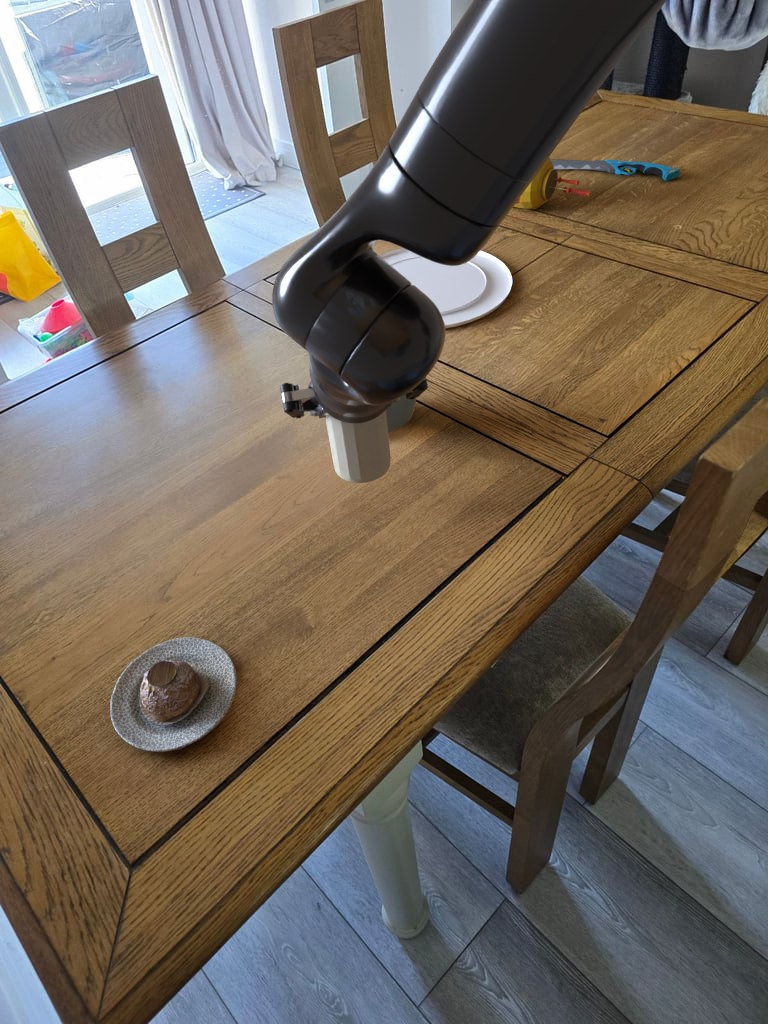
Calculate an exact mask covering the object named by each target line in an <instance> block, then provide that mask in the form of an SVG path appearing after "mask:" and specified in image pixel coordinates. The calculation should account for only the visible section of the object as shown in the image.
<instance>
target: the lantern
mask: <svg viewBox="0 0 768 1024" xmlns="http://www.w3.org/2000/svg"><path fill="white" fill-rule="evenodd" d="M550 159H551V158H550V157H549V158H548V159H547V161H546V162H545V163H544V165H543V166H542V168H541V169H540V170H539V172H538V173H537V175H536V176H535V177H534V178H533V180H532V181H531V183H530V184H529V186H528V187H527V188H526V190H525V191H524V192H523V194H522V195H521V196H520V198H519V199H518V201H517V202H516V203H515V205H514V206H513V207H514V208H518V209H524V210H529V211H530V210H536V209H539V208H540V207H541V206H542V205H544V204H545V203H546V202H547V201H549V200H551V199H552V198H553V196H554V194H555V192H556V190H561V191H562V192H563V194H565V193H568V194H570V193H572V194H575V195H579V196H586V197H591V194H592V192H591V191H590V190H581V189H573V188H571V187H568V188H567V186H564V187H563V188H560V187H557V185H558V184H560V183H564V184H565V183H566V184H569V185H574V186H579V183H580V181H579V180H576V179H567V178H566V179H565V178H562V177H561V176H559V177H558V175H559V173H558V169H554V167H553V164H552V162H551V160H550ZM513 207H512V208H513Z"/></svg>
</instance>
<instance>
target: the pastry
mask: <svg viewBox="0 0 768 1024" xmlns="http://www.w3.org/2000/svg"><path fill="white" fill-rule="evenodd" d="M237 685H238V679H237V669H236V667H235V664H234V660H233V659H232V658H231V656H230V655H229V653H228V652H227V651H226V650H225V649H223V648H222V647H221V646H219V645H218V644H216V643H214V642H213V641H211V640H208V639H203V638H198V637H193V636H191V637H189V636H185V637H176V638H171V639H168V640H166V641H163V642H161V643H158V644H156V645H154V646H152V647H150V648H148V649H147V650H145V651H144V652H143V653H141V654H140V655H138V656H137V657H136V658H134V659H133V660H131V662H130V663H129V664H128V665H127V666H126V667H125V669H124V670H123V672H122V673H121V674H120V676H119V677H118V679H117V681H116V683H115V686H114V689H113V692H112V693H111V696H110V719H111V722H112V723H111V724H112V726H113V728H114V730H115V732H116V733H117V734H118V736H119V737H120V738H121V739H122V740H124V742H126V743H128V744H129V745H130V746H132V747H134V748H137V749H140V750H143V751H147V752H155V753H157V752H158V753H162V752H164V753H165V752H171V751H180V750H182V749H184V748H187V746H189V745H191V744H193V743H196V742H197V741H199V740H201V739H202V738H204V737H205V736H206V735H208V734H209V733H210V732H212V730H214V729H215V728H216V727H217V726H218V725H219V723H221V721H222V720H223V719H224V718H225V716H226V715H227V713H228V712H229V710H230V708H231V706H232V704H233V702H234V700H235V695H236V692H237V687H238V686H237Z"/></svg>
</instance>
